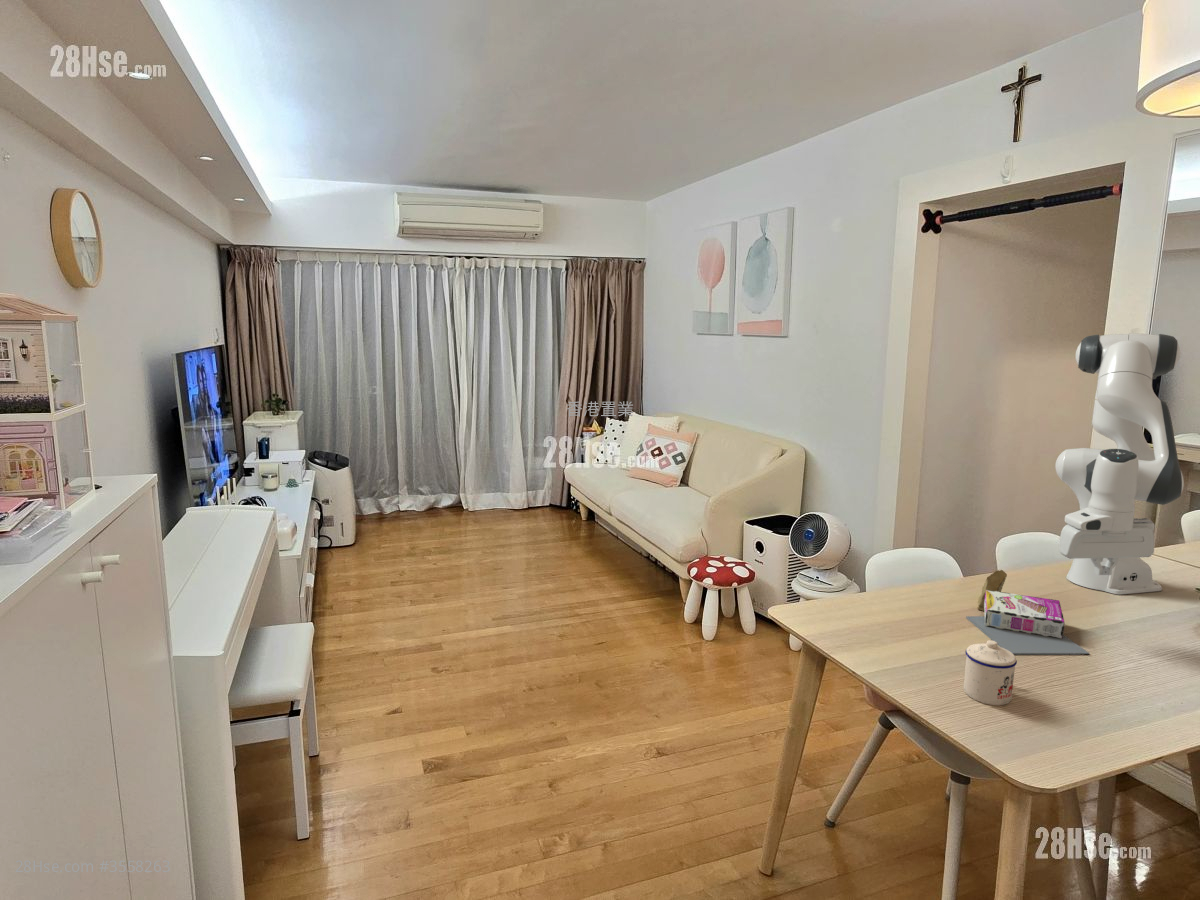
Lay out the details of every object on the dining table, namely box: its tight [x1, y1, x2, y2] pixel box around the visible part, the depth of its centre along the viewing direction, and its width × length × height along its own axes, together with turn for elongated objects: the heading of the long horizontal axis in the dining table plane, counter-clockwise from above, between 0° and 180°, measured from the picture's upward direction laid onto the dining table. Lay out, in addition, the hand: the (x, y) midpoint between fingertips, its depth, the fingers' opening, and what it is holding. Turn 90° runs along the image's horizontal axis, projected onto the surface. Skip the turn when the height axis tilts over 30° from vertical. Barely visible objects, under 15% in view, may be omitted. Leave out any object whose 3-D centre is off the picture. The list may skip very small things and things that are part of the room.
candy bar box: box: [983, 590, 1066, 639], centre depth 172 cm, size 11×5×16 cm
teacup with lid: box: [963, 639, 1018, 706], centre depth 141 cm, size 12×9×12 cm
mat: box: [965, 615, 1090, 656], centre depth 167 cm, size 18×20×1 cm
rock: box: [977, 569, 1008, 612], centre depth 185 cm, size 11×9×10 cm
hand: (1102, 574), depth 165 cm, fingers closed
